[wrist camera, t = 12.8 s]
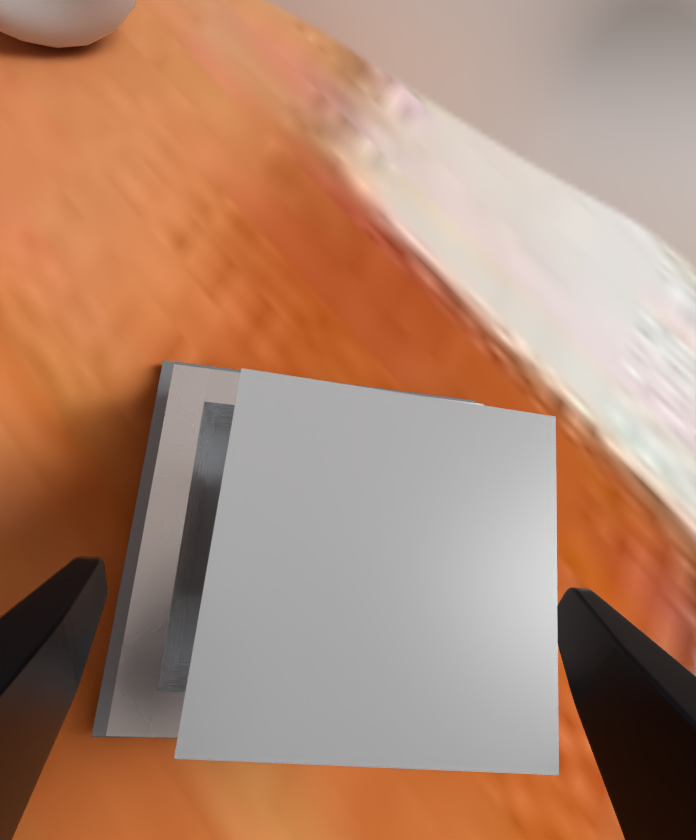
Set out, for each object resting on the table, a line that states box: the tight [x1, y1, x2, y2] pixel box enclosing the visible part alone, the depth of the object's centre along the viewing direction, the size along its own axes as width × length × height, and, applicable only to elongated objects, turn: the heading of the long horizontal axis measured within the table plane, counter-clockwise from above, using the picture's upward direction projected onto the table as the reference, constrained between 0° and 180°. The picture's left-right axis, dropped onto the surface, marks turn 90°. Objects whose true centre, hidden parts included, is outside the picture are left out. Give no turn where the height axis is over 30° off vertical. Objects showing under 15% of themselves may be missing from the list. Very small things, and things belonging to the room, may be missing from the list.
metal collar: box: [106, 364, 483, 738], centre depth 17 cm, size 11×11×4 cm
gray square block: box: [174, 368, 559, 775], centre depth 13 cm, size 5×5×13 cm
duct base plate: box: [91, 360, 477, 738], centre depth 19 cm, size 14×14×1 cm
